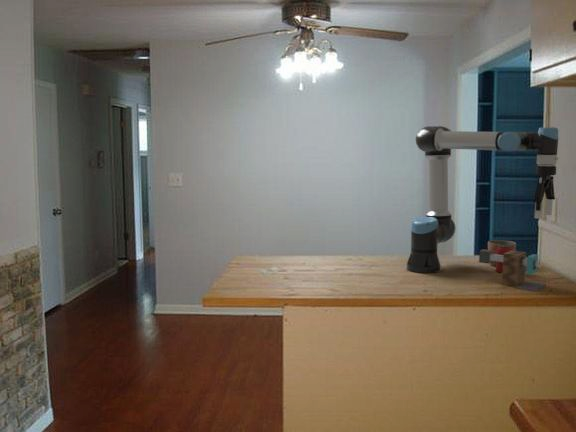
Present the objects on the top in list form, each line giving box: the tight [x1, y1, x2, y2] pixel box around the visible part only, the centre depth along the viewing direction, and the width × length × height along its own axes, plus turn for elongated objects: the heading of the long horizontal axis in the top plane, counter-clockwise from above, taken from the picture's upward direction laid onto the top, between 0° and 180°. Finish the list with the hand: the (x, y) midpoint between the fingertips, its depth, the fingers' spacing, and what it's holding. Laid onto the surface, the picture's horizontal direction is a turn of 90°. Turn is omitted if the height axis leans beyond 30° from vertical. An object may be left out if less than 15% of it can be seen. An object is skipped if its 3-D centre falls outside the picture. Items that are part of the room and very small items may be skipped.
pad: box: [516, 280, 547, 292], centre depth 238 cm, size 8×12×1 cm, turn 140°
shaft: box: [478, 249, 540, 267], centre depth 242 cm, size 23×4×5 cm, turn 50°
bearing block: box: [501, 250, 527, 288], centre depth 241 cm, size 6×9×13 cm, turn 140°
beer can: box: [495, 244, 512, 274], centre depth 263 cm, size 7×7×12 cm
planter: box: [487, 239, 517, 267], centre depth 277 cm, size 12×12×11 cm
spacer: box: [525, 253, 539, 276], centre depth 236 cm, size 2×7×7 cm, turn 140°
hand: (543, 216), depth 244 cm, fingers open, 13 cm apart
